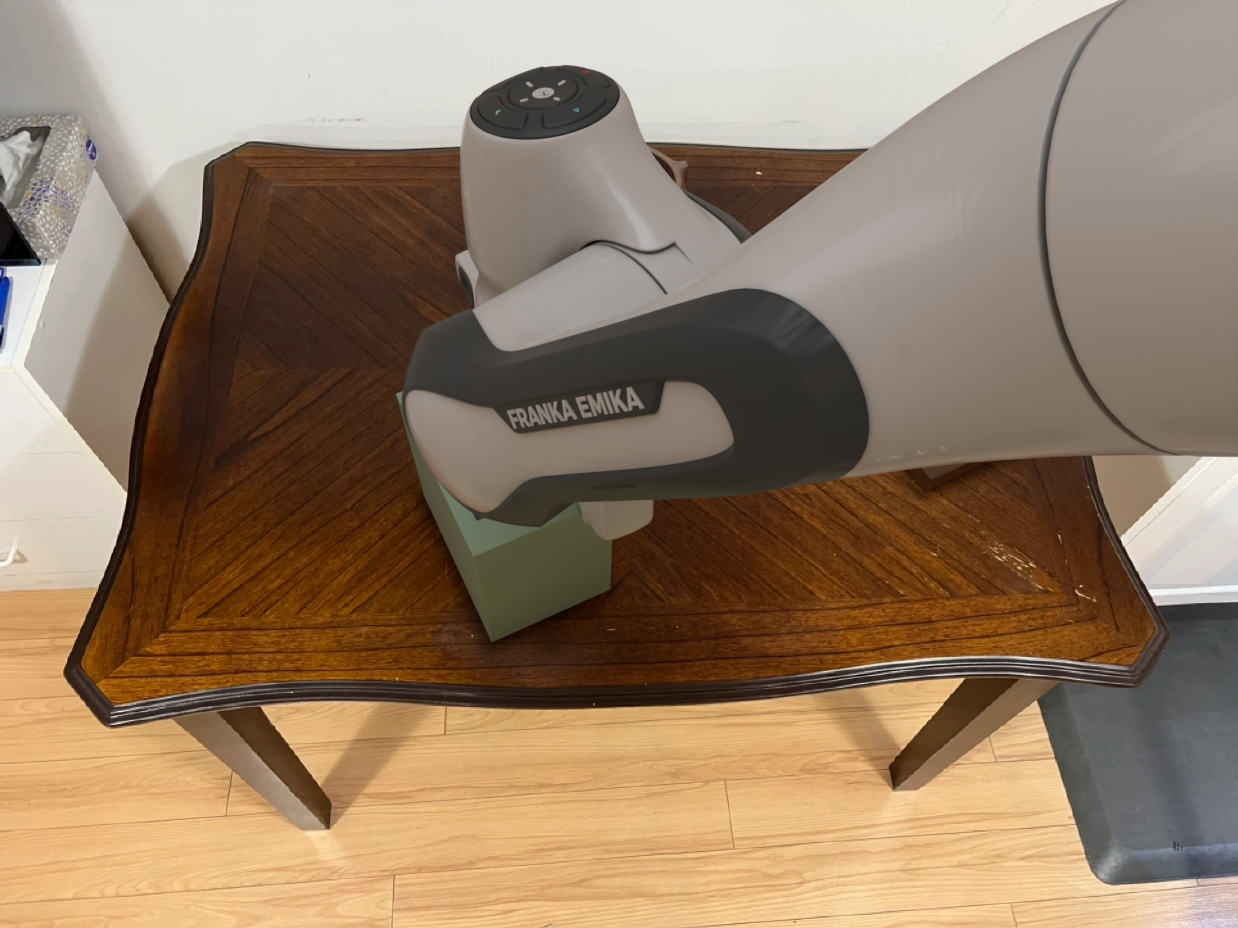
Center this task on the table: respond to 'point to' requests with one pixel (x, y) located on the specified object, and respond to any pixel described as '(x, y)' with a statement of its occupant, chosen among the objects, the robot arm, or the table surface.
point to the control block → (941, 474)
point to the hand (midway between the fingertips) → (562, 462)
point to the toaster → (517, 558)
